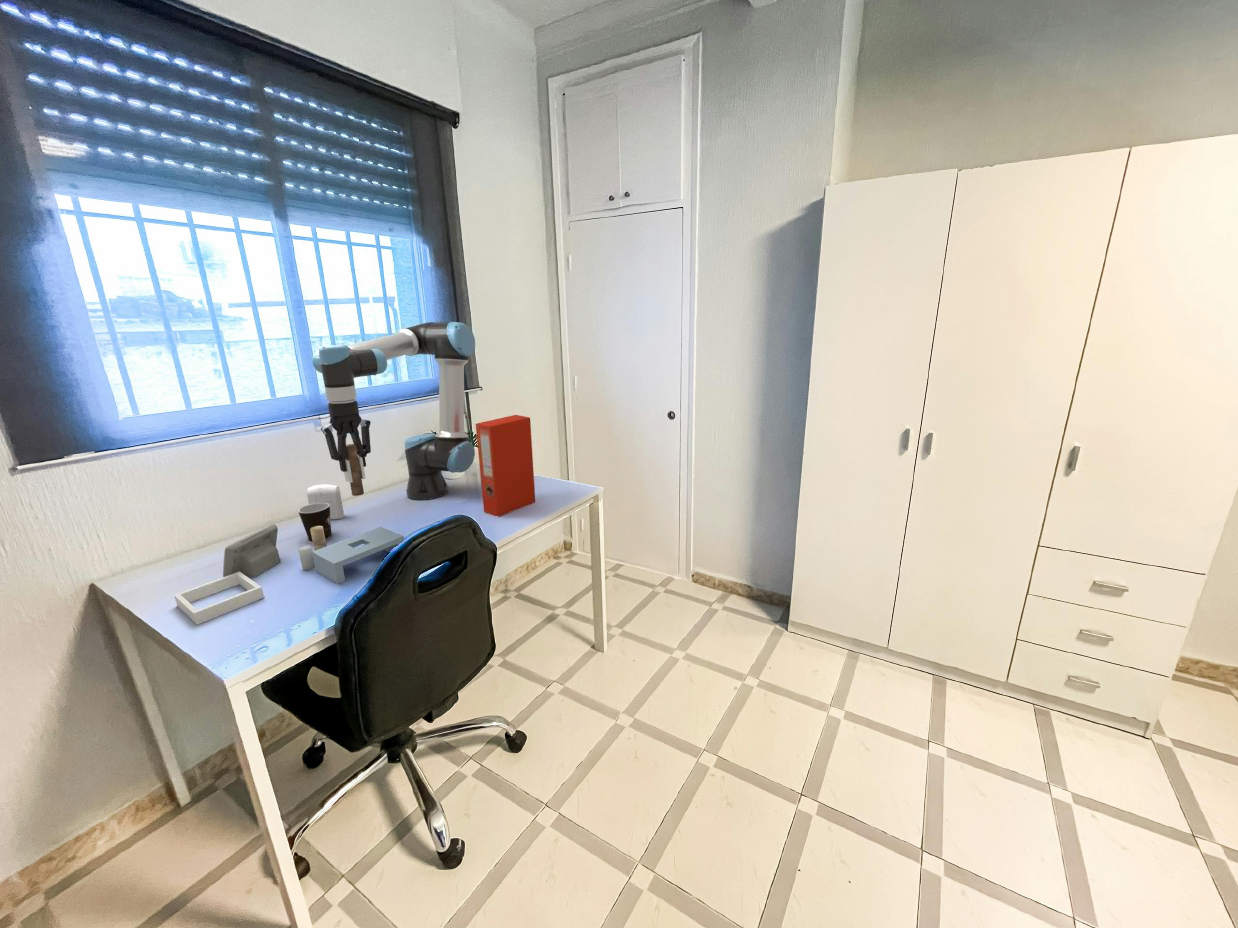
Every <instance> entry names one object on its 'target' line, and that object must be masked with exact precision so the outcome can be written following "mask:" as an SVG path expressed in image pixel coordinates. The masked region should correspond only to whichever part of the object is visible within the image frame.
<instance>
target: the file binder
mask: <svg viewBox="0 0 1238 928" xmlns="http://www.w3.org/2000/svg"><path fill="white" fill-rule="evenodd" d="M475 430H476V431H475V432H476V441H477V452H478V463H479V473H480V475H479V476H480V483H481V484H480V485H481V494H482V504H483V512H484V513H486V514H488V515H491V516H494V517H496V516H500V517H502V516H504V515H506V514H509V513H512V512H514V511H517V510H519V509H522V508H524V507H526V506H527V507H528V506H529V505H531V504H535V503H536V489H535V475H534V458H533V442H532V441H533V440H532V425H531V417H530V416H524V415H519V414H513V415H508V416H504V417H500V418H495V419H491V420H486V421H481V422H477V423H475Z"/></svg>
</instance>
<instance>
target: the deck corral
mask: <svg viewBox="0 0 1238 928" xmlns="http://www.w3.org/2000/svg"><path fill="white" fill-rule="evenodd" d="M238 585H240V586H241V587H243V588H244V589H245V591H244V592H240V593H238V594H236V595H233V596H231V597H228V598H226V599H223V600H220V601H218V602H215V603H212V604H209V605H207V606H204V607H201V608H200V609H197V608H196V607H194V605H192V603H193V602H196V601H199V600H201V599H204V598H206V597H208V596H212V595H214V594H216V593H219V592H222V591H225V590H227V589H231V588H233V587H236V586H238ZM173 596H174V599H175V603H176V605H177V608H179V609H180V610H181V611H182V612H183V613H185V614H186V616H187V617H189V618H190V619H191V620H192V622H194V623H195V624H196V625H200V624H204V623H205V622H208V621H210V620H212V619H215V618H217V617H220V616H222V615H224V614H227V613H229V612H232V611H235V610H237V609H239V608H242V607H245V606H247V605H249V604H252V603H254V602H257V601H259V600H262V599H264V598H265V595H264V590H263V587H262V586H261V585H259V584H258V583H257V582H255V581H254V580H252V579H251V577H247V576H245V575H244V574H242V573H241V572H237V573H234V574H231V575H229V576H226V577H220V578H218V579H215V580H212V581H208V582H207V583H204V584H201V585H199V586H195V587H193V588H189V589H187V590H184V591H182V592H179V593H175V594H173Z"/></svg>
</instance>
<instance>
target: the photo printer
mask: <svg viewBox="0 0 1238 928" xmlns="http://www.w3.org/2000/svg"><path fill="white" fill-rule="evenodd" d="M306 496H307V502H308V505H309V504H314V503H328V504H329V505H330V520H342V519H344V517H345V514H344V506H343V500H342V496H341V489H340V487H339V486H338V485H334V484H329V483H326V484H324V483H322V484H315V485H311V486H310V487H308V488H307V489H306Z"/></svg>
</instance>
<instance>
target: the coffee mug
mask: <svg viewBox="0 0 1238 928" xmlns="http://www.w3.org/2000/svg"><path fill="white" fill-rule="evenodd" d="M297 511H298V515H299V517H300V520H301V522H302V525H303V528H304V530H305V533H306V536H307V538H308V541H310V542H313V540H312V536H311V531H310V529H311V528H312V527H315V526H323V530H324V535H325V540H328V539H329V538H330V537H332V524H331V520H330V505H329V504H328V503H314V504H309V503H308V504H307V505H304V506H301V507H300V508H298V510H297Z"/></svg>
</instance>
